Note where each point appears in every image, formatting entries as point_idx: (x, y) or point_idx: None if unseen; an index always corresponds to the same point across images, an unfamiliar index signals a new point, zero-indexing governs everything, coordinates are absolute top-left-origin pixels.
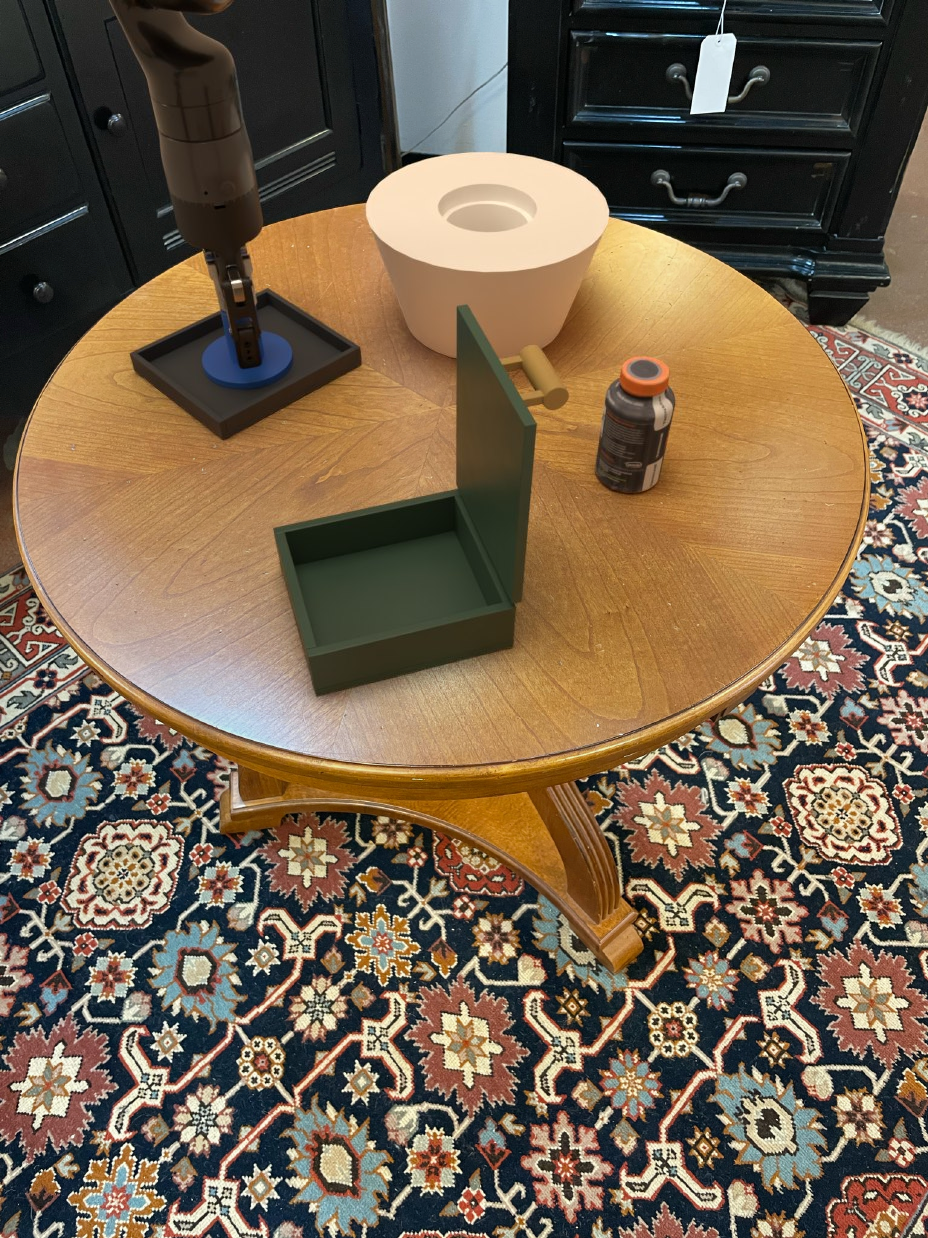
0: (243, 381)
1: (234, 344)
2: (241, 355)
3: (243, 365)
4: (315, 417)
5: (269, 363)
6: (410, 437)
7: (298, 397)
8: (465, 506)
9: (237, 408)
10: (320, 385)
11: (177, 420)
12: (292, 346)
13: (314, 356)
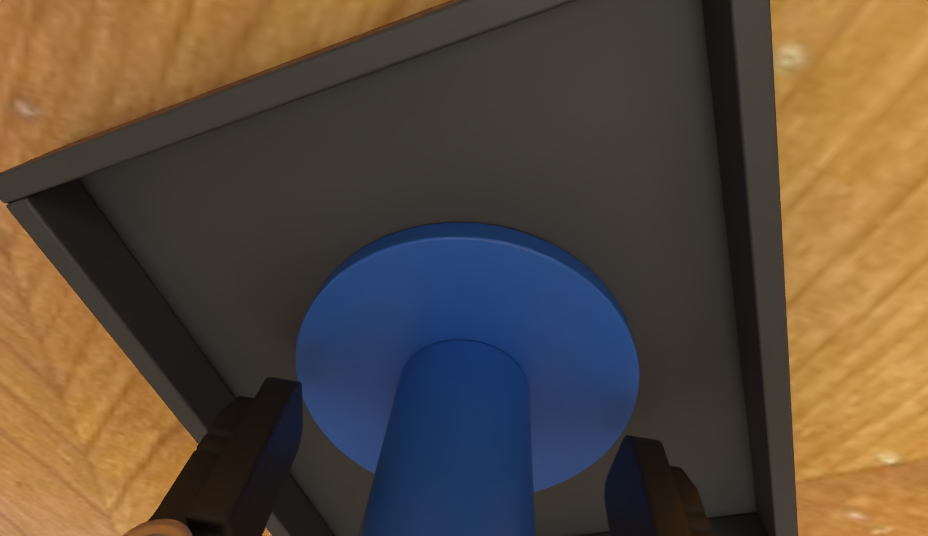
0: (309, 331)
1: (237, 464)
2: (217, 439)
3: (238, 400)
4: (151, 415)
5: (385, 427)
6: (44, 532)
7: None
8: None
9: (83, 271)
10: None
11: (221, 9)
12: None
13: None
